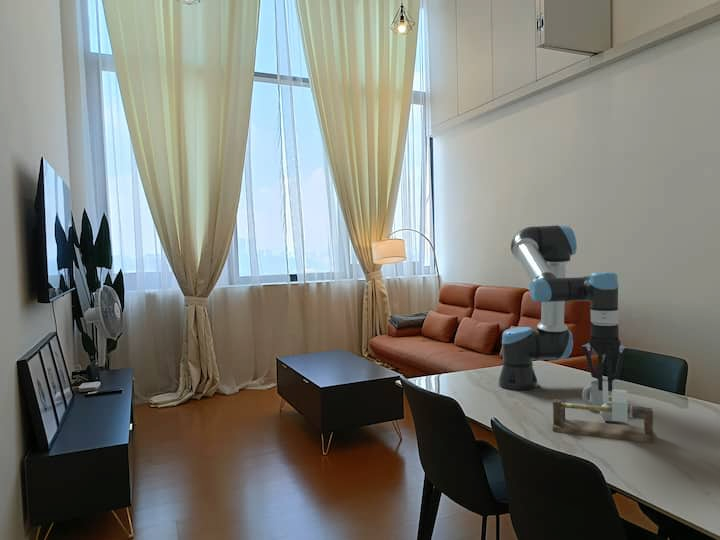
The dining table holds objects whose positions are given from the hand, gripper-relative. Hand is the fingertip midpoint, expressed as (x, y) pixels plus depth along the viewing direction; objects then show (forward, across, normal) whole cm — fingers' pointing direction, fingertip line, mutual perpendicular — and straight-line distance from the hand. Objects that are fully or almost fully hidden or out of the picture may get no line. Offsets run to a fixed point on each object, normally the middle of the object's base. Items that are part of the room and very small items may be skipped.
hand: (605, 401), depth 151 cm
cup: (+10, -2, +23) cm, 25 cm away
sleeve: (+5, +4, 0) cm, 6 cm away
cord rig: (+10, -1, 0) cm, 10 cm away
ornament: (+10, +1, +10) cm, 14 cm away
